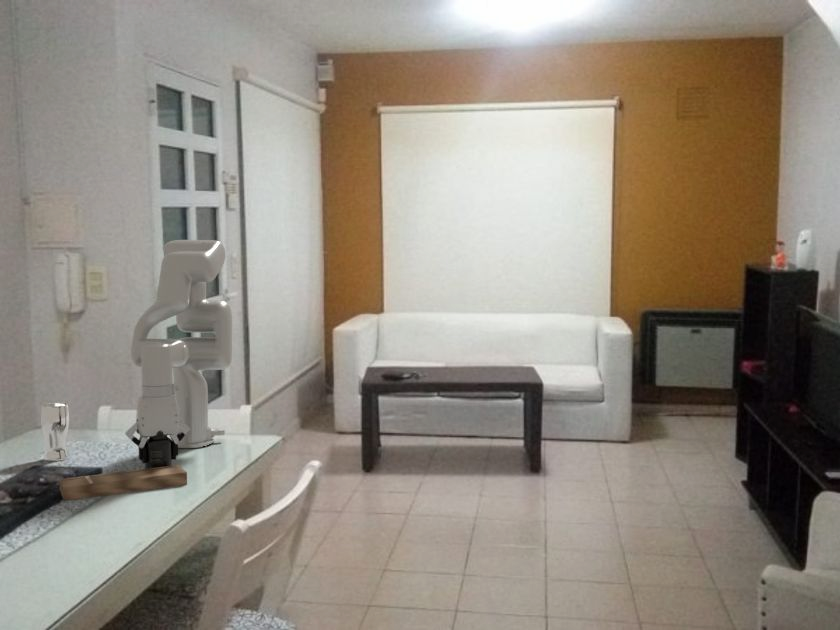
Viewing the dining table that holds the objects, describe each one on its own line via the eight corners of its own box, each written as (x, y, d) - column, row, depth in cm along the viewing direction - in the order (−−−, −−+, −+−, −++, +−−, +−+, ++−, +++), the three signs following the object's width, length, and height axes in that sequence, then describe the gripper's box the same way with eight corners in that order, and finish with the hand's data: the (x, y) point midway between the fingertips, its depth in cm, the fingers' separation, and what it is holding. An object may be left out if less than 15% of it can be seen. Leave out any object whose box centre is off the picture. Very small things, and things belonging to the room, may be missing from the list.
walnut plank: (179, 476, 214) (178, 464, 214) (187, 484, 208) (186, 471, 207) (59, 491, 201) (59, 478, 200) (64, 500, 194) (63, 487, 194)
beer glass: (74, 455, 235) (73, 402, 234) (61, 462, 228) (60, 407, 227) (51, 455, 235) (49, 402, 234) (37, 461, 229) (35, 406, 227)
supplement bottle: (178, 472, 218) (177, 426, 217) (160, 479, 212) (159, 432, 211) (157, 469, 221) (157, 424, 220) (139, 476, 215) (138, 429, 214)
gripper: (187, 386, 222) (189, 453, 224) (118, 391, 214) (120, 461, 215) (195, 390, 216) (196, 459, 217) (124, 396, 207) (126, 468, 209)
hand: (158, 459), depth 216 cm, fingers closed on supplement bottle, 6 cm apart
